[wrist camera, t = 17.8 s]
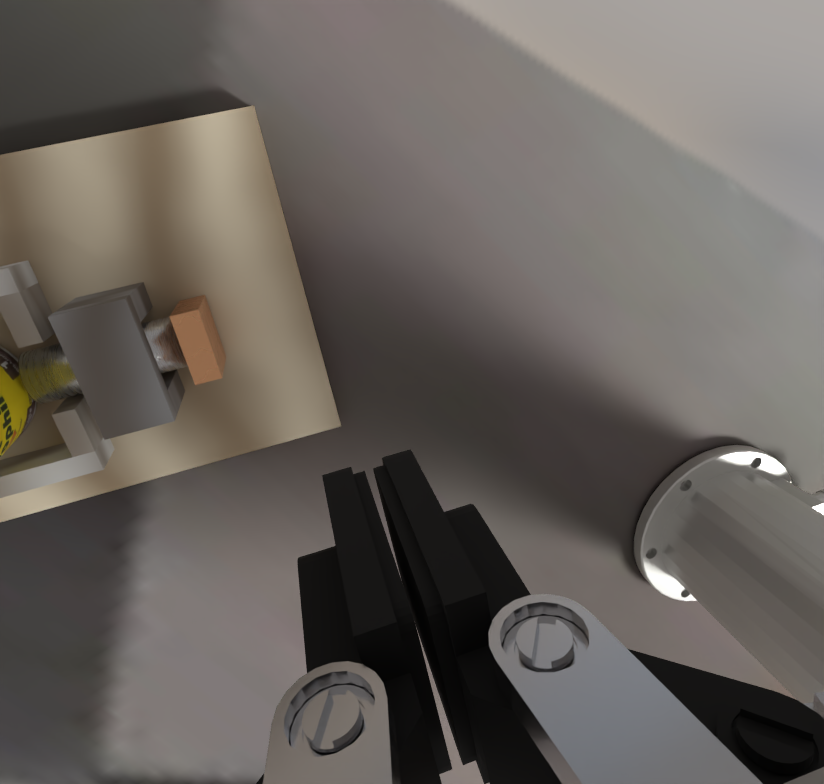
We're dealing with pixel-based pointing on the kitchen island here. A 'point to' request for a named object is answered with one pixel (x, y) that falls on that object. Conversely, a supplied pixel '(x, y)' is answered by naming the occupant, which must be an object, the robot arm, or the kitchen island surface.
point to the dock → (152, 305)
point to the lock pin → (169, 340)
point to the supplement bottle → (12, 401)
